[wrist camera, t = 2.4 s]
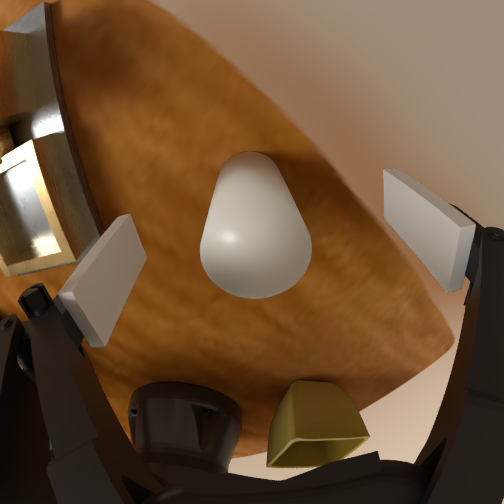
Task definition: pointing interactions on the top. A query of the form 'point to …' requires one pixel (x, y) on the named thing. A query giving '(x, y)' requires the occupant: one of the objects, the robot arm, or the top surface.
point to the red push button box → (39, 156)
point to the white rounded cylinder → (254, 230)
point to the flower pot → (314, 426)
